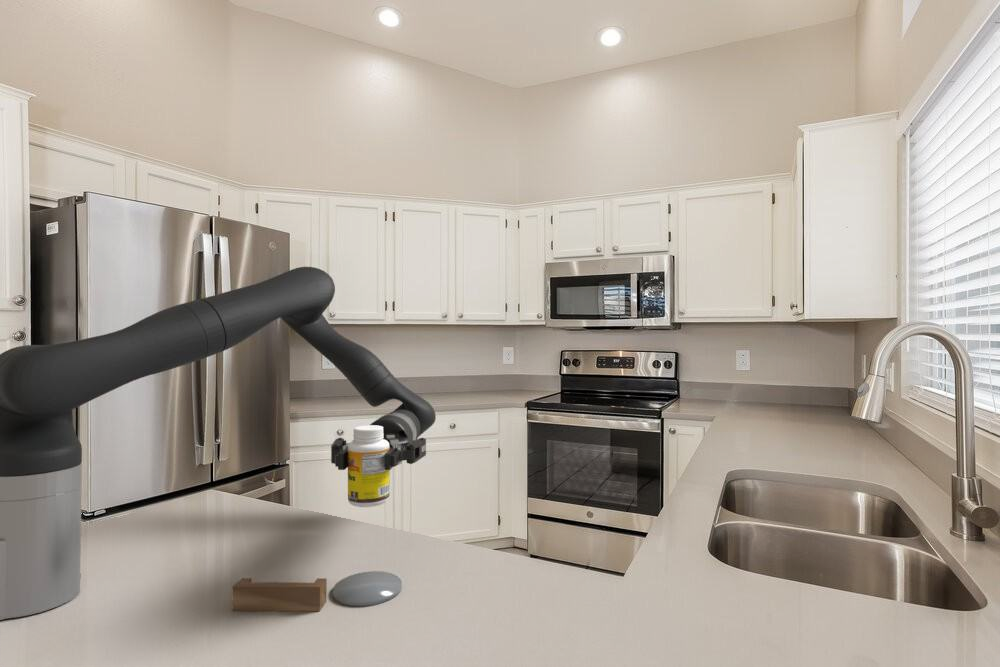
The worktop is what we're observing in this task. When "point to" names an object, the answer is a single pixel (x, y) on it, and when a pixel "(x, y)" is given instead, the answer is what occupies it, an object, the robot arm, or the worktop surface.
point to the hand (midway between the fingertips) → (364, 462)
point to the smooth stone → (367, 588)
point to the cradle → (279, 595)
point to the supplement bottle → (368, 467)
